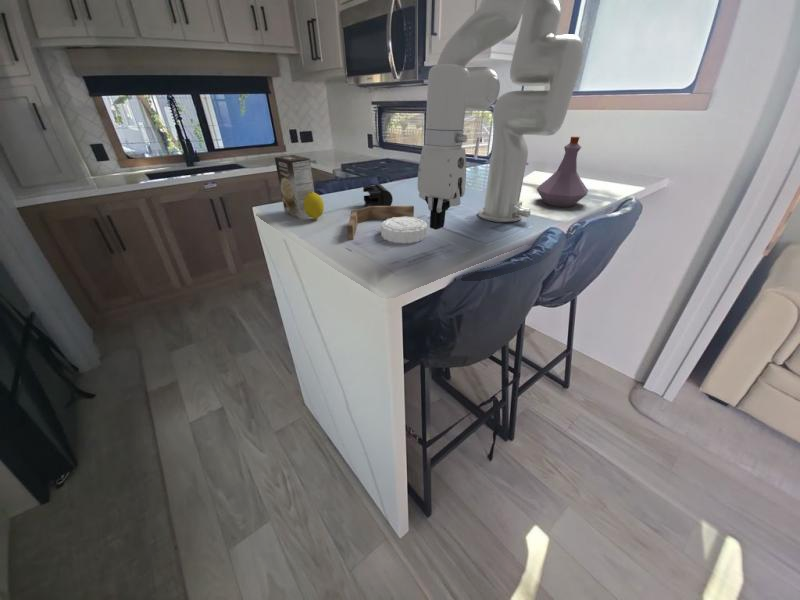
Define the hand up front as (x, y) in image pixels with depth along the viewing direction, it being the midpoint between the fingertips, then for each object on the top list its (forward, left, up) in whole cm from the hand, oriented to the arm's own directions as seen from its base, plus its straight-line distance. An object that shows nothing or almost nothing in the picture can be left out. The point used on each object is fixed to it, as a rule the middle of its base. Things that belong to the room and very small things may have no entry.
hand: (436, 227), depth 75 cm
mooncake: (+11, -1, -5) cm, 12 cm away
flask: (-6, -59, -5) cm, 59 cm away
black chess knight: (+34, -13, -5) cm, 37 cm away
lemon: (+38, +8, -5) cm, 39 cm away
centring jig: (+23, -1, -5) cm, 23 cm away
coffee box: (+46, +8, -5) cm, 47 cm away
